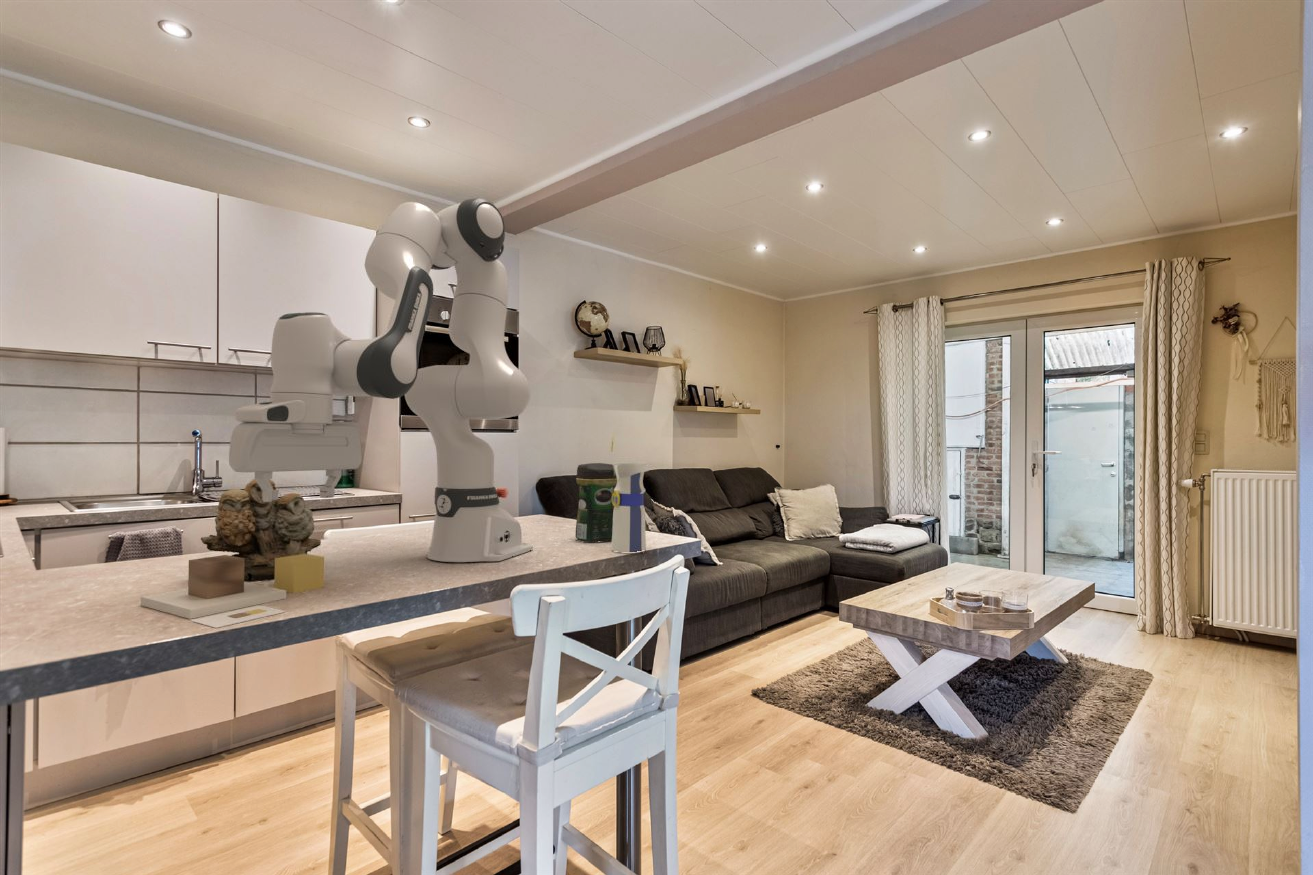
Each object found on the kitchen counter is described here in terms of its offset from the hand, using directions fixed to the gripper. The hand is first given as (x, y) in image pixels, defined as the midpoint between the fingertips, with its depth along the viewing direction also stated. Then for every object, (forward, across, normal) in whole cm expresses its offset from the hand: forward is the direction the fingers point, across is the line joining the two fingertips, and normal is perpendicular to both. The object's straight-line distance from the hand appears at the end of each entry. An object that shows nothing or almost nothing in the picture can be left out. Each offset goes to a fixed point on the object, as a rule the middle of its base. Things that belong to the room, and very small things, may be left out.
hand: (299, 499), depth 105 cm
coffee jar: (+14, -67, +12) cm, 70 cm away
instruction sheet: (+14, +14, +8) cm, 22 cm away
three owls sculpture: (+14, -3, -15) cm, 21 cm away
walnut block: (+13, +11, -2) cm, 17 cm away
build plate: (+14, +11, -2) cm, 18 cm away
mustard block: (+14, 0, 0) cm, 14 cm away
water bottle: (+14, -59, +26) cm, 66 cm away
